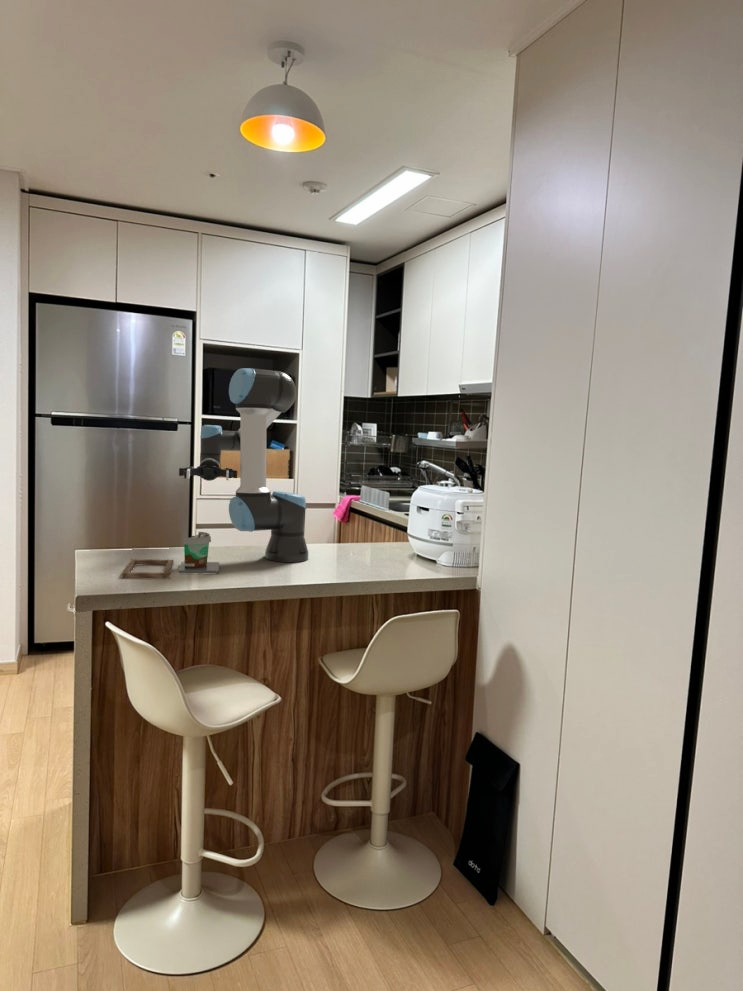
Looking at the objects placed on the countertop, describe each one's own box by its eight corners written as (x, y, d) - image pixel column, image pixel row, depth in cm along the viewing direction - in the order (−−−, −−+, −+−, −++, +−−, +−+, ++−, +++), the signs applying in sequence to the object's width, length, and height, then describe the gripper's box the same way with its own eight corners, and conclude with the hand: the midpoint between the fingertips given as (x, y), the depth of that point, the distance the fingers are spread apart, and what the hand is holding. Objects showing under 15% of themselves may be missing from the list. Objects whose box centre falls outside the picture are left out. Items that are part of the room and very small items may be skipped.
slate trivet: (219, 565, 226) (219, 562, 226) (218, 573, 214) (218, 570, 214) (181, 564, 223) (181, 561, 223) (178, 573, 212) (178, 570, 212)
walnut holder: (173, 564, 223) (173, 559, 223) (167, 578, 205) (167, 573, 205) (131, 563, 221) (131, 559, 221) (122, 578, 202) (122, 573, 202)
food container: (201, 571, 212) (202, 539, 211) (182, 569, 213) (183, 537, 212) (216, 562, 224) (217, 532, 223) (198, 561, 225) (199, 531, 224)
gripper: (243, 480, 253) (244, 488, 232) (174, 478, 248) (169, 485, 227) (243, 460, 252) (245, 465, 231) (174, 457, 247) (170, 462, 226)
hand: (207, 475), depth 229 cm, fingers open, 12 cm apart
